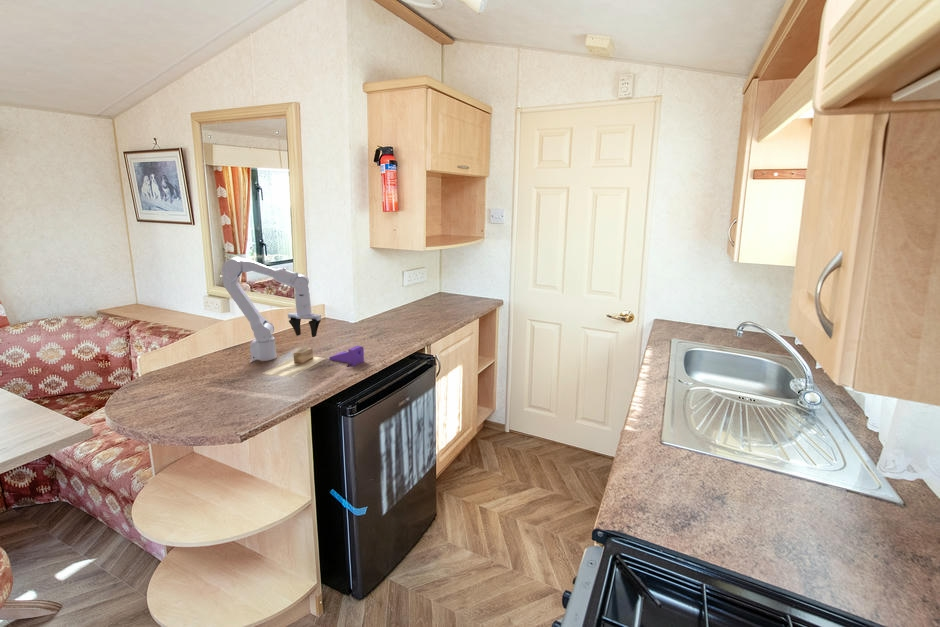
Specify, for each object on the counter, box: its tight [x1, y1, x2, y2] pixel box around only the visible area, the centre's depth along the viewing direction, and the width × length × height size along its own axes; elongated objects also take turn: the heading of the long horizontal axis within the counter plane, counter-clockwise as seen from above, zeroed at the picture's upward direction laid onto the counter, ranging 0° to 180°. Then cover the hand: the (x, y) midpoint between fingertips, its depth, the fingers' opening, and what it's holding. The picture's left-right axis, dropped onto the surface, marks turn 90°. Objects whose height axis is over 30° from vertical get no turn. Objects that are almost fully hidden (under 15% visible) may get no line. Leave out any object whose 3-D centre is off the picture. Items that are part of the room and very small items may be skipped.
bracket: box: [329, 345, 365, 367], centre depth 196 cm, size 12×7×7 cm, turn 64°
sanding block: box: [292, 346, 314, 364], centre depth 195 cm, size 4×7×4 cm, turn 164°
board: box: [261, 356, 326, 378], centre depth 190 cm, size 14×22×1 cm, turn 164°
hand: (306, 335), depth 201 cm, fingers open, 7 cm apart
